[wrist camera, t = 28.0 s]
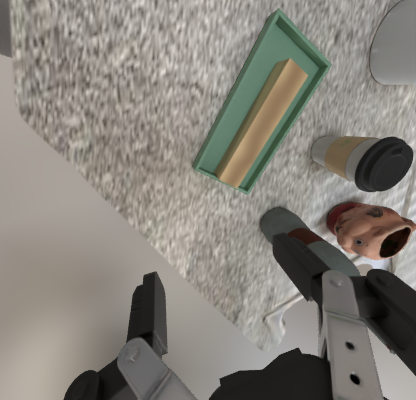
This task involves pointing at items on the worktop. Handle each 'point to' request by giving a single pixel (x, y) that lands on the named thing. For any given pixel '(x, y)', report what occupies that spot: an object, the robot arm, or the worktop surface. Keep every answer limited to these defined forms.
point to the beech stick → (260, 121)
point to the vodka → (310, 245)
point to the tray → (250, 88)
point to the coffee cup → (365, 160)
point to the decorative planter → (369, 230)
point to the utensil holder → (396, 46)
